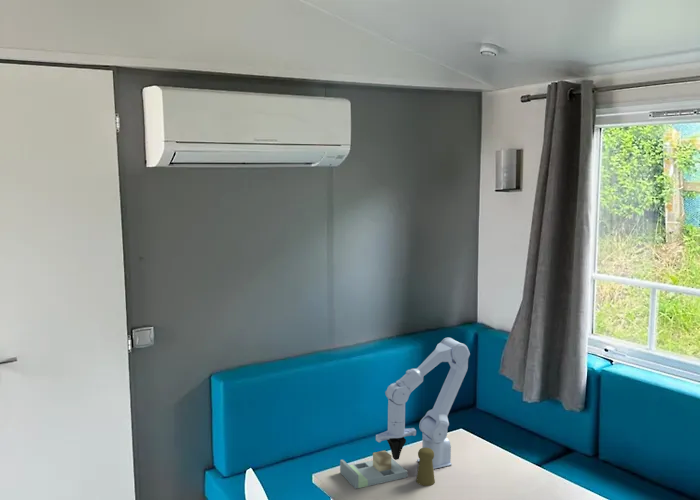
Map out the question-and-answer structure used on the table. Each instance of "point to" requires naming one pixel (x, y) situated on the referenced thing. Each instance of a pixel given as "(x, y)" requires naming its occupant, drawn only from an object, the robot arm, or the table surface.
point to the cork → (425, 467)
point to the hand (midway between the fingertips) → (395, 458)
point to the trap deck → (370, 473)
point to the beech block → (382, 460)
